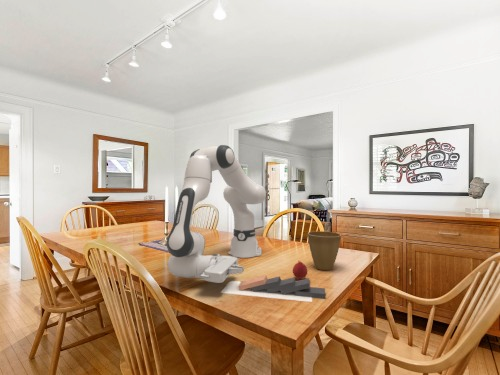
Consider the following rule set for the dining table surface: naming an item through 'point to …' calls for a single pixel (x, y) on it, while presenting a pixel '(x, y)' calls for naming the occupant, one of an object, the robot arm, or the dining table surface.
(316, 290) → the domino
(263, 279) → the terracotta domino
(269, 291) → the domino
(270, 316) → the dining table surface
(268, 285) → the domino
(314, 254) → the plant pot
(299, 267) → the onion
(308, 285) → the domino
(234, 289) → the mat
